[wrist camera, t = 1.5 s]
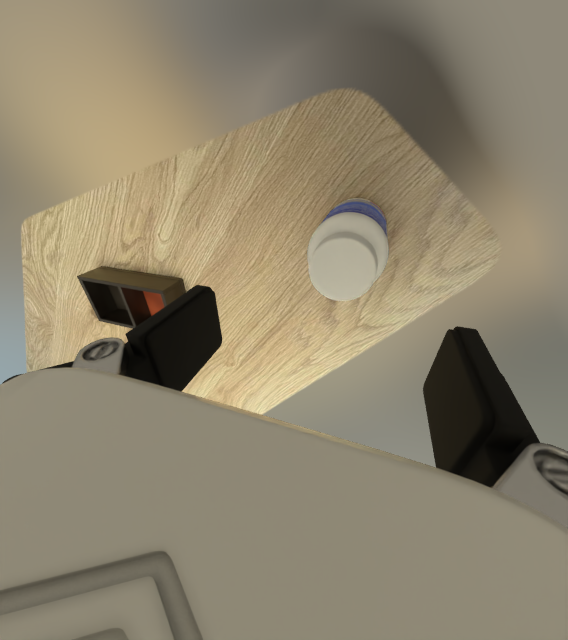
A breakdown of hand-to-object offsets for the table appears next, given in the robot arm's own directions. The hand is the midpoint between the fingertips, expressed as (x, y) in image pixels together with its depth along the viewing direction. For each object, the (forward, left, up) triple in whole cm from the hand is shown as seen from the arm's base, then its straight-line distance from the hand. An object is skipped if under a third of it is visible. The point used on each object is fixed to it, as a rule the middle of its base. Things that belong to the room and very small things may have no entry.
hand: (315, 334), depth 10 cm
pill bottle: (0, 0, -16) cm, 16 cm away
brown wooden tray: (+11, -27, -16) cm, 33 cm away
